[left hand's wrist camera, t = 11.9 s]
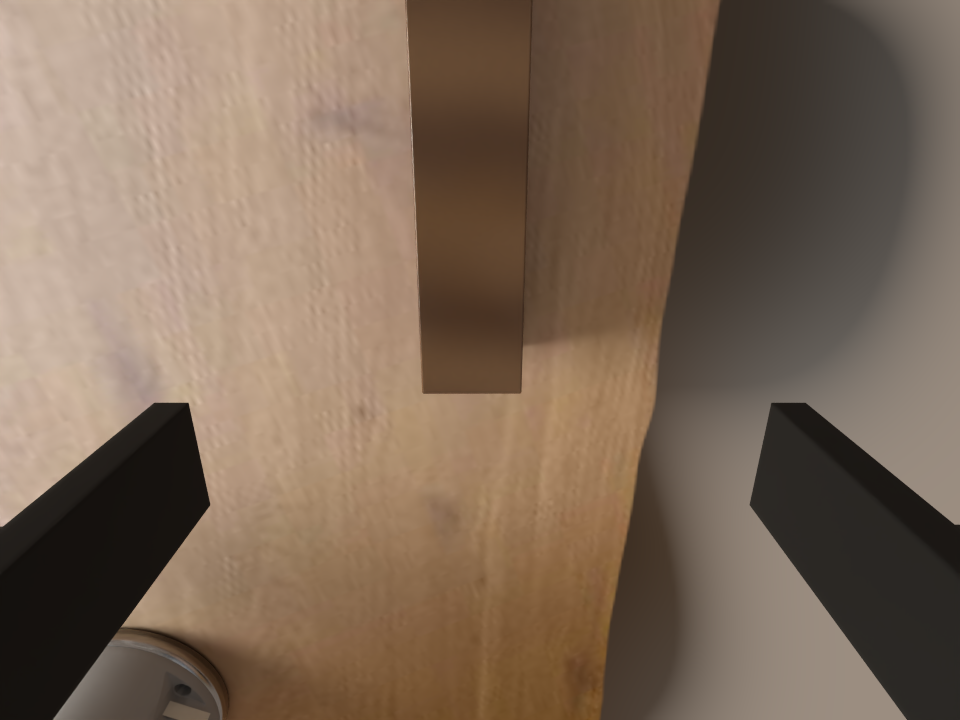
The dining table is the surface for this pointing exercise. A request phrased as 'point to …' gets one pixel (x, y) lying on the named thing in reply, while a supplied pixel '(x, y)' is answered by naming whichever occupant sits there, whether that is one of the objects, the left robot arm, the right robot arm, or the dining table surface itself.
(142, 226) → the dining table surface
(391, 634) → the dining table surface
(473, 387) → the post
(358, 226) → the dining table surface
